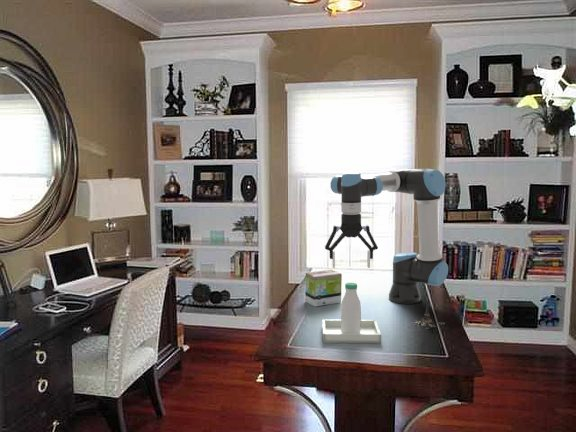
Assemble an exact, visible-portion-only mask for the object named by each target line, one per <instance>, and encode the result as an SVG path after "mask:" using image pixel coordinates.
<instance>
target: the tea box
mask: <svg viewBox="0 0 576 432" xmlns="http://www.w3.org/2000/svg"><path fill="white" fill-rule="evenodd" d="M342 275H343V274H342V273H340V272H338V271H335V270H333V269H325V270H318V271H309V272H305V279H304V281H305V286H304V288H305V289H304V291H305V292H304V302H305V303H307V304H309V305H311V306H313V307H314V308H316V307H321V306H325V305H326V306H327V305H331V304H332V305H333V304H342V283H343V282H342V280H343V279H342V277H343V276H342Z"/></svg>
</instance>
